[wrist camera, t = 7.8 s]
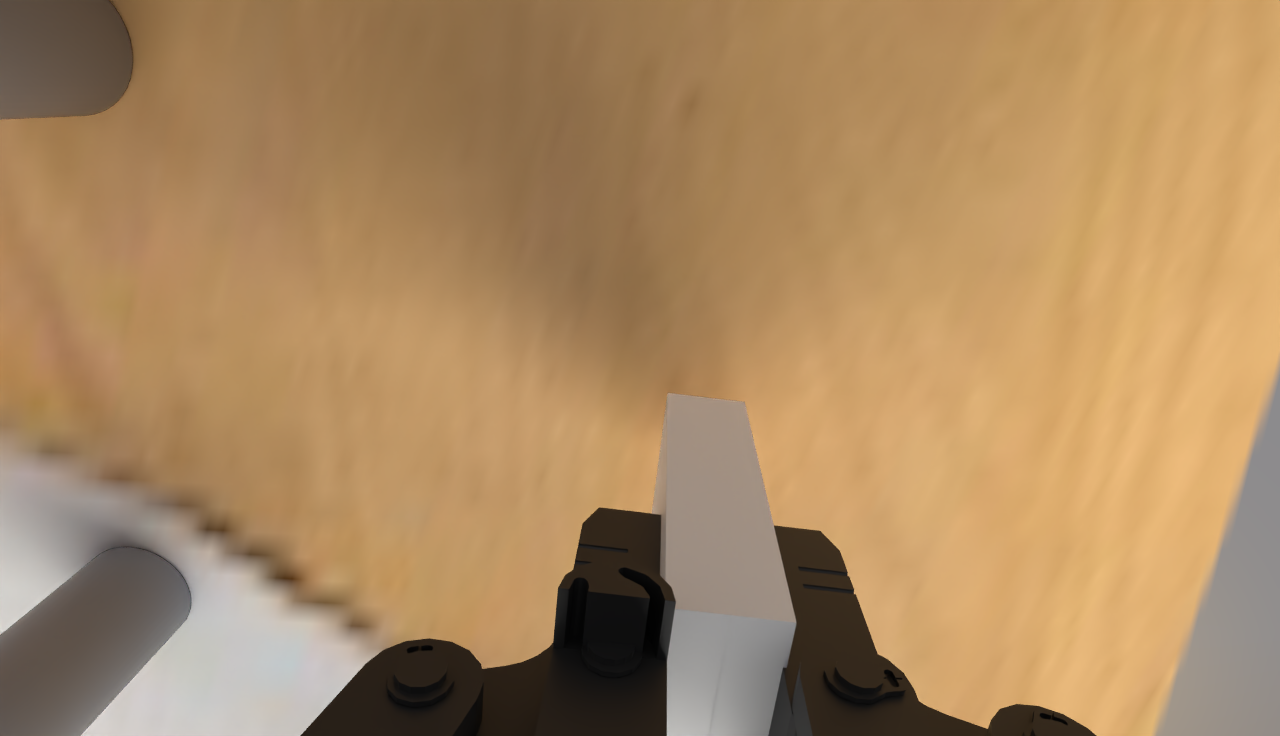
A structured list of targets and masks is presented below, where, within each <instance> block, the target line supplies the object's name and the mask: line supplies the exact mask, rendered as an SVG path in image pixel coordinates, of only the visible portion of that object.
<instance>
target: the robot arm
mask: <svg viewBox="0 0 1280 736" xmlns="http://www.w3.org/2000/svg"><path fill="white" fill-rule="evenodd" d="M847 573H848V572H847V569H846V567H845V564H844V561H843V558H842V556H841V553H840V551H839V550H838V549H837V548H836V547H835V546H834V545H833V544H832V543H831V542H830V541H829V539H828V538H827V537H826V536H825V535H824V534H823V533H822V532H821V531H816V530H807V529H799V528H790V527H782V526H774V525H773V520H772V516H771V512H770V508H769V503H768V499H767V495H766V491H765V486H764V482H763V478H762V474H761V469H760V465H759V461H758V457H757V452H756V448H755V444H754V440H753V435H752V431H751V427H750V423H749V418H748V414H747V410H746V406H745V402H742V401H733V400H724V399H716V398H707V397H699V396H690V395H682V394H673V393H668V394H667V401H666V409H665V416H664V424H663V431H662V439H661V447H660V454H659V462H658V469H657V477H656V484H655V492H654V500H653V507H652V514H650V513H641V512H633V511H624V510H616V509H607V508H598V509H597V510H596V511H595V512H594V513H593V514H592V515H591V516H590V517H589V518H588V519H587V520H586V521H585V522H584V523H583V525H582V529H581V534H580V539H579V545H578V549H577V554H576V559H575V564H574V569H573V570H572V571H571V572H569V573H568V574H566V575H565V577H564V579H563V580H562V582H561V584H560V586H559V587H558V596H557V607H556V619H555V630H554V641H553V643H552V645H551V646H550V647H549V648H548V649H546V650H545V651H543V652H542V653H541V654H539V655H538V656H536V657H533V658H531V659H529V660H526V661H524V662H521V663H517V664H512V665H508V666H502V667H494V668H487V669H482V668H481V664H480V663H479V661H478V660H477V659H476V658H475V657H474V655H473V654H472V653H471V652H470V651H469V650H467V649H465V648H463V647H461V646H459V645H457V644H455V643H453V642H449V641H442V640H436V639H421V640H413V641H405V642H403V643H400V644H398V645H395V646H393V647H390V648H387V649H385V650H383V651H382V652H380V653H379V654H378V655H377V656H375V657H374V658H373V659H371V660H370V661H369V662H368V663H366V664H365V665H364V666H363V668H362V669H361V670H360V671H359V672H358V673H357V674H356V675H355V676H354V677H353V679H352V680H351V681H350V682H349V683H348V684H347V685H346V686H345V687H344V688H343V690H342V691H341V692H340V693H339V694H338V695H337V696H336V697H335V698H334V699H333V701H332V702H331V703H330V704H329V705H328V706H327V707H326V708H325V709H324V710H323V712H322V713H321V714H320V715H319V716H318V717H317V718H316V719H315V720H314V721H313V723H312V724H311V725H310V726H309V727H308V728H307V729H306V730H305V731H304V732H303V733H302V735H301V736H1096V735H1095V734H1094V733H1092V732H1091V731H1090V730H1089V729H1088V728H1086V727H1084V726H1083V725H1081V724H1079V723H1077V722H1076V721H1074V720H1072V719H1070V718H1069V717H1067V716H1065V715H1063V714H1060V713H1058V712H1055V711H1052V710H1049V709H1046V708H1043V707H1040V706H1032V705H1020V704H1015V705H1012V706H1009V707H1005V708H1002V709H1000V710H999V711H998V712H997V713H996V715H995V716H994V717H993V718H992V720H991V722H990V725H989V728H988V729H986V728H983V727H980V726H977V725H974V724H972V723H969V722H966V721H963V720H960V719H957V718H954V717H952V716H949V715H946V714H944V713H941V712H939V711H937V710H934V709H932V708H930V707H927V706H926V705H924V704H922V703H921V702H919V701H918V698H917V696H916V693H915V691H914V688H913V687H912V685H911V684H910V682H909V681H908V679H907V678H906V676H905V675H904V673H903V672H902V671H901V670H899V669H898V668H897V667H896V666H895V665H893V664H892V663H891V662H890V661H889V660H887V659H886V658H884V657H882V656H880V655H878V654H877V651H876V649H875V646H874V643H873V640H872V638H871V635H870V632H869V630H868V627H867V624H866V621H865V619H864V616H863V613H862V610H861V608H860V605H859V602H858V599H857V597H856V594H854V588H853V586H852V583H851V580H850V578H849V576H847Z"/></svg>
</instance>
